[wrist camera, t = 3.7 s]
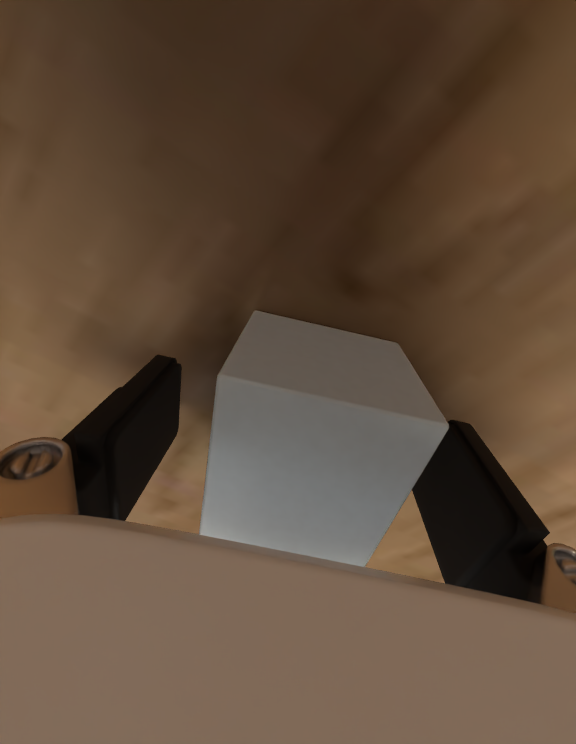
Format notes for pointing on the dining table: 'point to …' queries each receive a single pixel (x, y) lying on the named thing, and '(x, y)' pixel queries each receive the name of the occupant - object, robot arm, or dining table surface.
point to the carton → (315, 440)
